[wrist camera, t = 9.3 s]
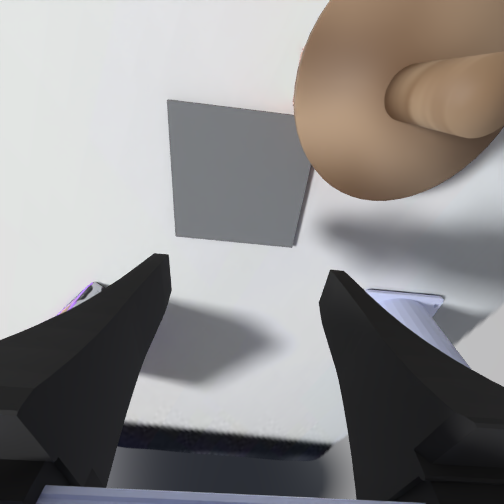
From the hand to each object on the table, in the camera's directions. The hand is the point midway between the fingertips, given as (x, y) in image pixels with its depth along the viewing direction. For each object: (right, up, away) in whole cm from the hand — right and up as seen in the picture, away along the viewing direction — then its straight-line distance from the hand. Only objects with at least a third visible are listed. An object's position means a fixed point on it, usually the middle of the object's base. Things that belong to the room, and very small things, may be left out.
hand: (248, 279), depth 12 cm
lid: (+8, +10, +2) cm, 12 cm away
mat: (-1, +7, +8) cm, 10 cm away
